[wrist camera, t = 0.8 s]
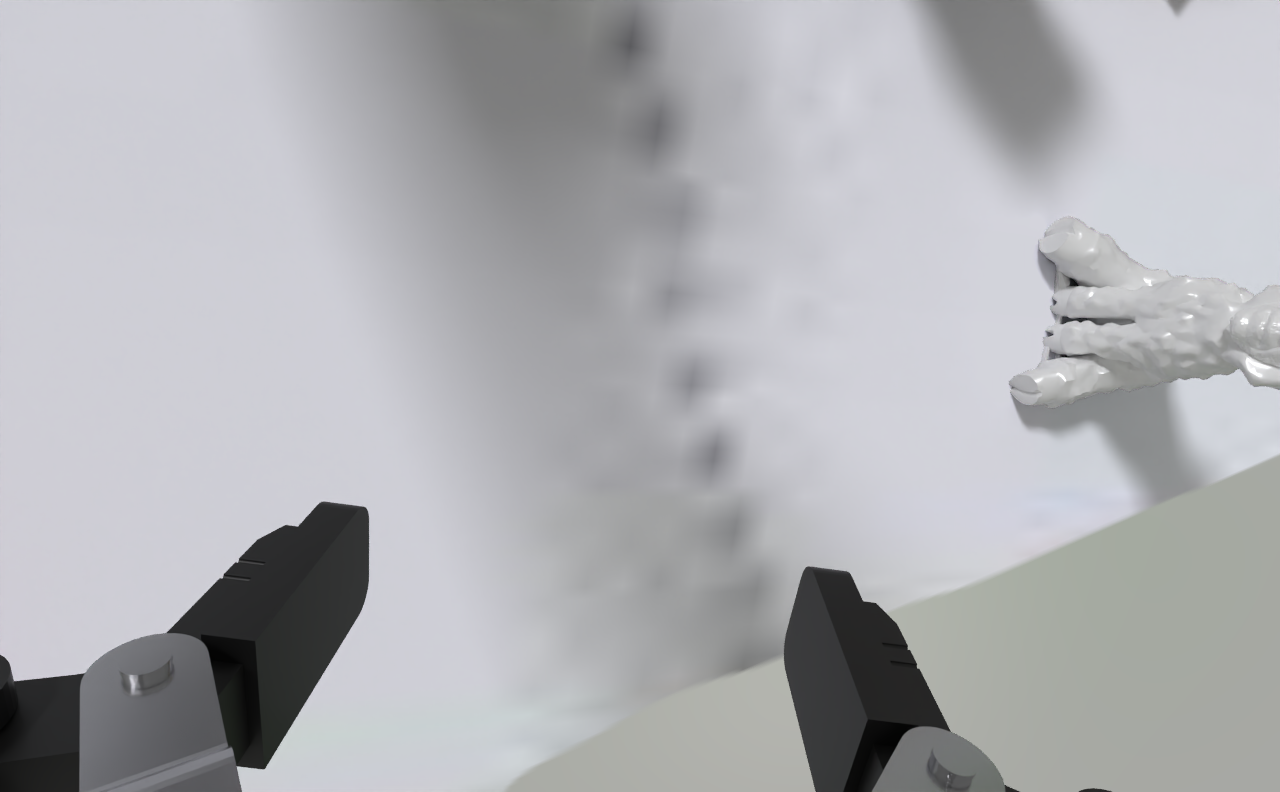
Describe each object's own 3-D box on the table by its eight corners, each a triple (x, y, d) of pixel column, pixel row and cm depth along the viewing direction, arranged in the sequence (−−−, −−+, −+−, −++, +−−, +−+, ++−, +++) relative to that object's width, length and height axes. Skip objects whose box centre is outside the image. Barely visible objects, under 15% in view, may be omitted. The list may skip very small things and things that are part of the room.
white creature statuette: (1037, 216, 35) (1324, 167, 23) (1165, 248, 37) (1484, 217, 26) (1001, 400, 36) (1262, 441, 24) (1129, 420, 38) (1423, 466, 26)
